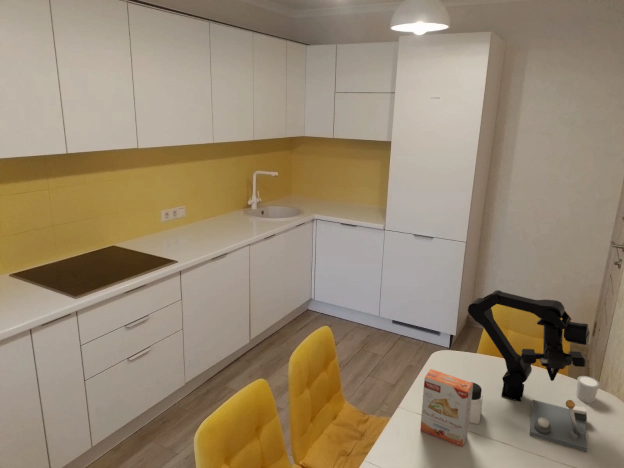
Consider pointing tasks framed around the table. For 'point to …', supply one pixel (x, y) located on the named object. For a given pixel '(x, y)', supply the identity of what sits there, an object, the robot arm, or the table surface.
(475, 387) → the medicine bottle
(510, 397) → the robot arm
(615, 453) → the table surface
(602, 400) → the table surface
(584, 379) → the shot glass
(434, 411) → the cracker box
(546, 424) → the push button
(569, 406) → the toggle lever
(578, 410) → the rocker switch
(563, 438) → the switch panel
